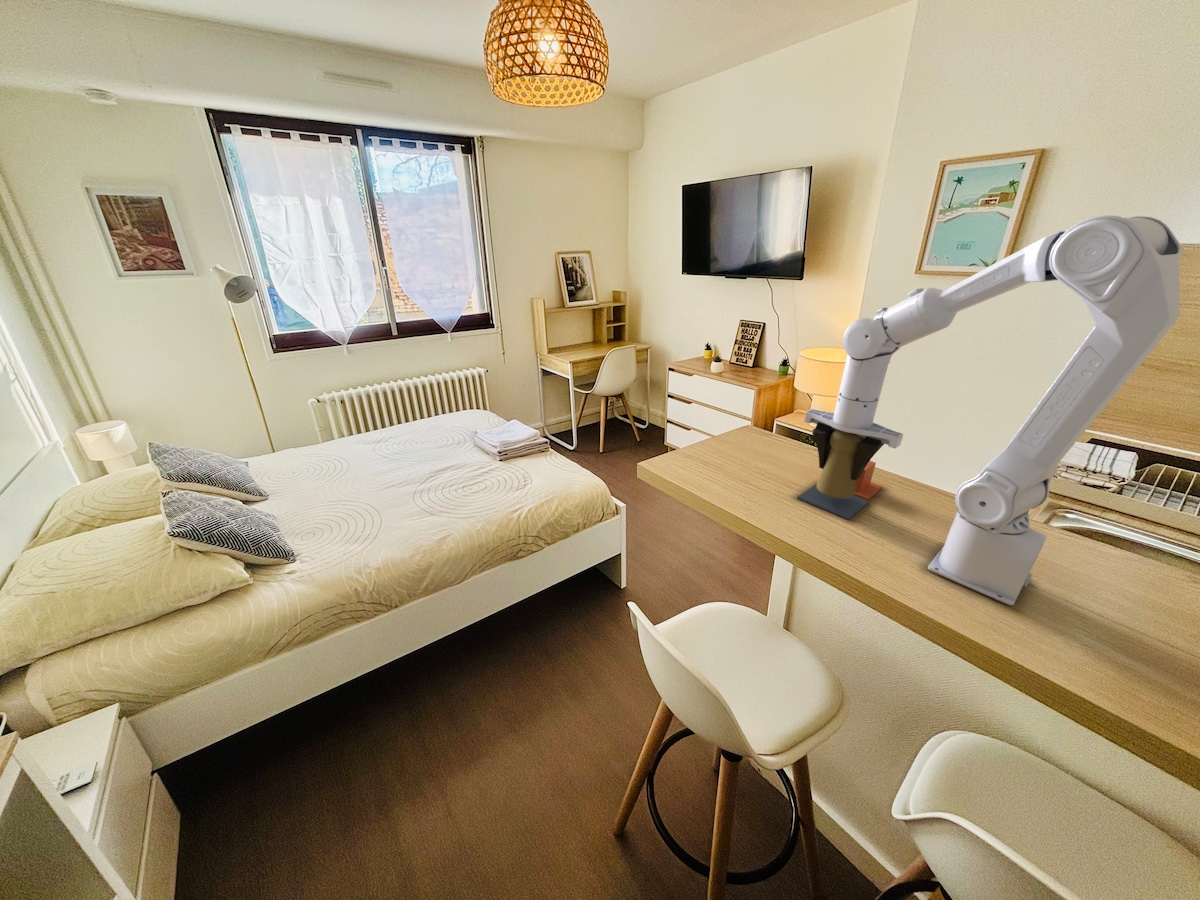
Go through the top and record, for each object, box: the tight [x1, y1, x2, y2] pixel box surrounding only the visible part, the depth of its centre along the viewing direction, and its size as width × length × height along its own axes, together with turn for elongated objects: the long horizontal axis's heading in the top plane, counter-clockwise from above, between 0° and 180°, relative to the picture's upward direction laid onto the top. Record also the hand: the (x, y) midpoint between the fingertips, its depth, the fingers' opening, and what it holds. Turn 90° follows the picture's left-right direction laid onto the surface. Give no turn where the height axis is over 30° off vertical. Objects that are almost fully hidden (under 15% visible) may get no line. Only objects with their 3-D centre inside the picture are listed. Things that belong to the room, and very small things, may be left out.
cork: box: [816, 430, 865, 498], centre depth 78 cm, size 6×6×11 cm
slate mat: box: [796, 483, 870, 521], centre depth 81 cm, size 9×8×1 cm
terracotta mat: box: [854, 481, 883, 501], centre depth 86 cm, size 8×6×1 cm
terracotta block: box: [855, 460, 877, 492], centre depth 85 cm, size 4×4×4 cm
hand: (839, 472), depth 79 cm, fingers closed on cork, 5 cm apart
